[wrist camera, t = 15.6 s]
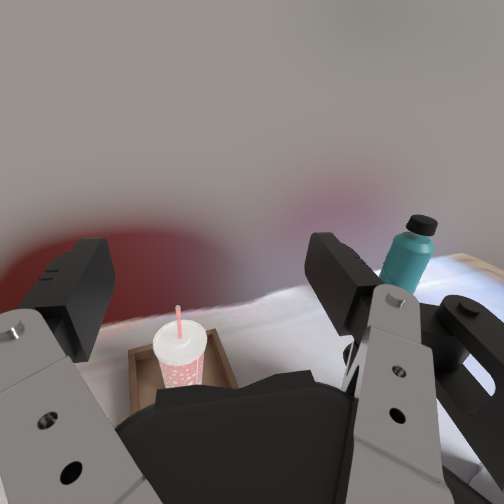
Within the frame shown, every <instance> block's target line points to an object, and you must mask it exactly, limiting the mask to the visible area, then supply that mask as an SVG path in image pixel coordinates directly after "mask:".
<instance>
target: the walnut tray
mask: <svg viewBox="0 0 504 504" xmlns="http://www.w3.org/2000/svg"><path fill="white" fill-rule="evenodd" d="M206 335H207V344H206V348H205V351H204V359H203V372H202V384H201V385H208V386H216V387H225V388H233V389H239V388H238V385H237V382H236V380H235V377H234V375H233V372H232V370H231V367H230V364H229V362H228V359H227V357H226V354H225V352H224V349H223V347H222V344H221V341H220V339H219V336H218V334H217V331H216V329H211V330H207V331H206ZM128 358H129V379H130V400H131V415H133V414H134V413H136V412H137V411H139V410H141V409H143V408H145V407H147V406H149V405H151V404H154V403H155V399H156V390H157V389H165V388H166V387H165V383H164V380H163V376H162V372H161V368H160V364H159V360H158V358H157V356H156V355H155V353H154V350H153V344H151V345H147V346H143V347H139V348H135V349H131V350H128Z"/></svg>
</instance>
